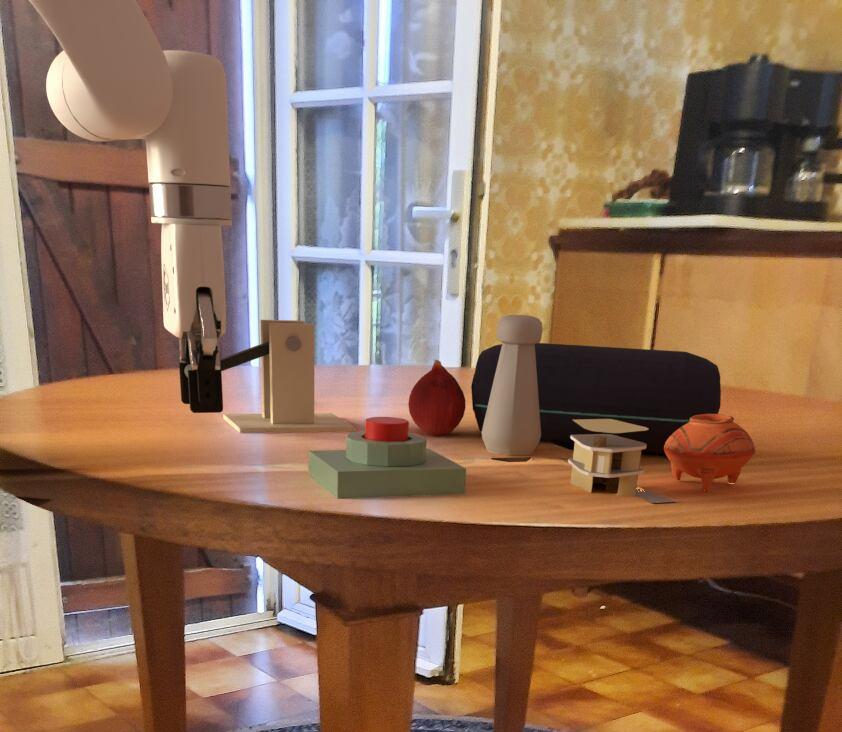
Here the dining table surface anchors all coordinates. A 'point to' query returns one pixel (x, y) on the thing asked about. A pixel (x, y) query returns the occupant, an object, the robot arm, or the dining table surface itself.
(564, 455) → the dining table surface
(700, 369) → the portable speaker
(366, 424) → the button
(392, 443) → the socket block
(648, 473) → the dining table surface
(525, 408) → the salt shaker
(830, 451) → the dining table surface
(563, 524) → the dining table surface
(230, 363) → the lever switch
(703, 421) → the pot
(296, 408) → the wooden lever stand
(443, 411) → the onion
